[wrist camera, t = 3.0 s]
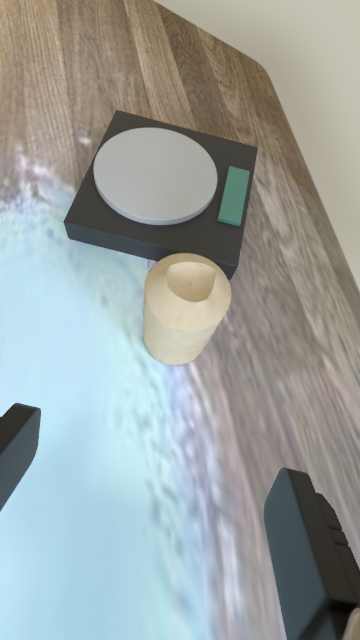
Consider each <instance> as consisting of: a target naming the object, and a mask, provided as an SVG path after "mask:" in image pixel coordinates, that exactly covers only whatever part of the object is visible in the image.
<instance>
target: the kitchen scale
mask: <svg viewBox="0 0 360 640" xmlns="http://www.w3.org/2000/svg"><path fill="white" fill-rule="evenodd" d="M257 149H258V148H257V147H253V146H250V145H246V144H242V143H238V142H235V141H231V140H227V139H223V138H220V137H216V136H212V135H208V134H205V133H201V132H197V131H193V130H190V129H186V128H182V127H178V126H175V125H171V124H167V123H163V122H160V121H156V120H152V119H148V118H145V117H141V116H137V115H133V114H130V113H126V112H122V111H118V110H116V112H115V114H114V116H113V119H112V121H111V123H110V125H109V127H108V129H107V131H106V133H105V135H104V138H103V140H102V142H101V144H100V146H99V148H98V150H97V152H96V155H95V157H94V159H93V161H92V163H91V165H90V167H89V169H88V171H87V174H86V176H85V178H84V180H83V182H82V184H81V186H80V188H79V191H78V193H77V195H76V197H75V199H74V201H73V203H72V205H71V207H70V210H69V212H68V214H67V216H66V218H65V220H64V225H65V228H66V231H67V234H68V237H69V239H73V240H77V241H81V242H85V243H89V244H93V245H97V246H101V247H104V248H108V249H112V250H116V251H120V252H124V253H128V254H132V255H136V256H140V257H144V258H147V259H151V260H155V261H160V260H162V259H163V258H165V257H167V256H170V255H173V254H179V253H191V254H196V255H200V256H203V257H205V258H207V259H209V260H211V261H212V262H214V263H215V264H216V265H217V266H218V267H219V268H220V269H221V270H222V271H223V272H224V274H225V275H226V277H227V279H231V278H232V276H233V274H234V272H235V270H236V268H237V266H238V260H239V255H240V249H241V243H242V237H243V231H244V225H245V220H246V214H247V208H248V202H249V196H250V190H251V185H252V179H253V173H254V167H255V161H256V155H257Z"/></svg>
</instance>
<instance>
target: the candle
mask: <svg viewBox="0 0 360 640" xmlns="http://www.w3.org/2000/svg"><path fill="white" fill-rule="evenodd" d="M230 301H231V288H230V284H229V281H228V279H227V277H226V275H225V274H224V272H223V271H222V270H221V269H220V268H219V267H218V266H217V265H216V264H215V263H214V262H212V261H211V260H209V259H207V258H205V257H203V256H200V255H196V254H191V253H179V254H173V255H170V256H167V257H165V258H163V259H162V260H160V261H159V262H157V263H156V264H155V265H154V266H153V267H152V269H151V270H150V272H149V273H148V275H147V278H146V282H145V294H144V317H143V340H144V344H145V346H146V348H147V350H148V352H149V353H150V354H151V355H152V356H153V357H154V358H155V359H156V360H158V361H159V362H161V363H163V364H167V365H172V366H179V365H184V364H187V363H189V362H191V361H193V360H194V359H196V358H197V357H198V356H199V355H200V353H201V352H202V351H203V349H204V348H205V346H206V344H207V343H208V341H209V339H210V338H211V336H212V335H213V333H214V331H215V330H216V328H217V327H218V325H219V323H220V322H221V320H222V318H223V317H224V315H225V314H226V312H227V310H228V308H229V305H230Z"/></svg>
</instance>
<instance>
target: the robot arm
mask: <svg viewBox="0 0 360 640" xmlns="http://www.w3.org/2000/svg"><path fill="white" fill-rule="evenodd" d="M40 418H41V409H40V408H37V407H32V406H28V405H24V404H20V403H15V404H14V405H12V406H11V408H10V409H9V410H8V411H7V412H6V413H5V414H4V415H3V416H2V417H0V511H1V510H2V508H3V506H4V505H5V503H6V502H7V500H8V499H9V497H10V496H11V494H12V493H13V491H14V489H15V488H16V486H17V485H18V483H19V482H20V480H21V479H22V477H23V475H24V474H25V472H26V471H27V469H28V468H29V466H30V464H31V463H32V461H33V459H34V456H35V454H36V451H37V447H38V439H39V428H40ZM264 522H265V527H266V533H267V538H268V543H269V548H270V553H271V559H272V564H273V569H274V574H275V579H276V585H277V590H278V595H279V600H280V605H281V611H282V616H283V621H284V626H285V631H286V636H287V640H360V570H359V567H358V565H357V563H356V560H355V558H354V556H353V553H352V551H351V549H350V547H348V541H347V539H346V537H345V534H344V532H342V527H341V525H340V523H339V520H338V518H337V515H336V513H335V511H334V509H333V508H332V507H331V506H330V504H329V503H328V502H327V500H326V499H325V498H324V496H323V495H322V494H319V493H316V492H315V490H314V487H313V485H312V482H311V479H310V477H309V475H308V474H307V473H305V472H301V471H296V470H292V469H288V468H282V469H281V470H280V471H279V473H278V475H277V477H276V480H275V482H274V484H273V486H272V488H271V490H270V492H269V494H268V496H267V499H266V501H265V506H264Z"/></svg>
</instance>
